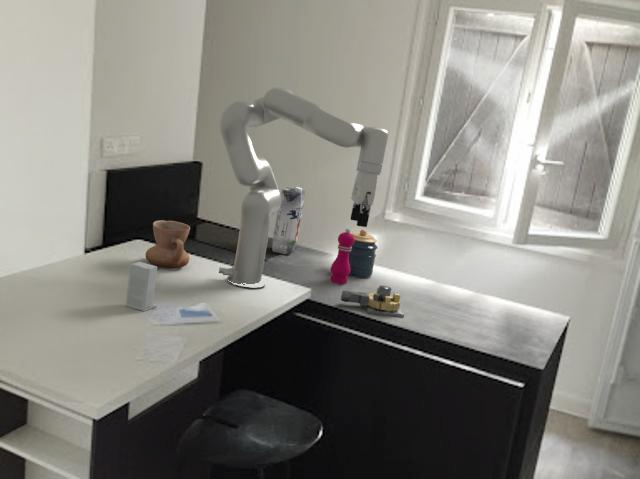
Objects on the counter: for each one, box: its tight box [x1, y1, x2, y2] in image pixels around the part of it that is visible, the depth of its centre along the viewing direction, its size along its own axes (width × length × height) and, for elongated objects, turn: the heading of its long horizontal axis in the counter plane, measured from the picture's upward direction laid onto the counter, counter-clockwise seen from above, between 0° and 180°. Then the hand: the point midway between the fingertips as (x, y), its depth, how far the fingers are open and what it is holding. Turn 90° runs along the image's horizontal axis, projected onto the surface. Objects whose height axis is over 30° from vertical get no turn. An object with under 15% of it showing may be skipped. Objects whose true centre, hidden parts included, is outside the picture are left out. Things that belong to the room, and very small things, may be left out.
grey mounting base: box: [361, 284, 405, 318], centre depth 227 cm, size 12×12×8 cm
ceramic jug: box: [145, 219, 191, 270], centre depth 231 cm, size 18×14×14 cm
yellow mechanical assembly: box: [340, 287, 401, 311], centre depth 226 cm, size 19×11×4 cm, turn 100°
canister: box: [348, 228, 378, 279], centre depth 266 cm, size 13×13×18 cm
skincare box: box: [125, 261, 158, 312], centre depth 187 cm, size 6×4×12 cm
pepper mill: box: [329, 227, 355, 285], centre depth 249 cm, size 7×7×20 cm
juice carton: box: [271, 186, 306, 256], centre depth 279 cm, size 9×10×27 cm
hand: (358, 223), depth 216 cm, fingers open, 7 cm apart
